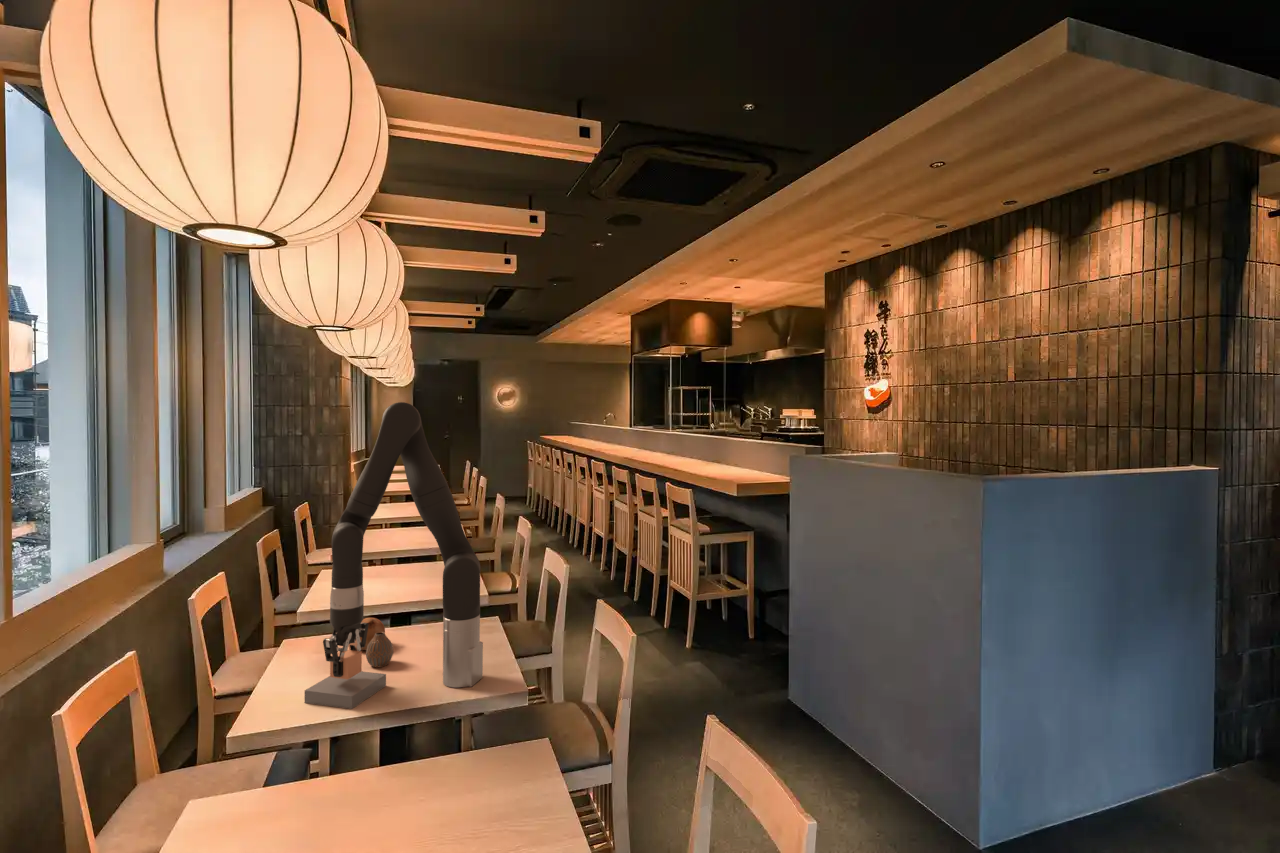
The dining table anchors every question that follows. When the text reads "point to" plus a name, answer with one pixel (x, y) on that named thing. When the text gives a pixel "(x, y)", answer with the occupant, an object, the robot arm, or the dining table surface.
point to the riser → (345, 690)
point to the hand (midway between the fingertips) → (346, 671)
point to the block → (349, 664)
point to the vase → (379, 650)
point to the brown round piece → (372, 629)
